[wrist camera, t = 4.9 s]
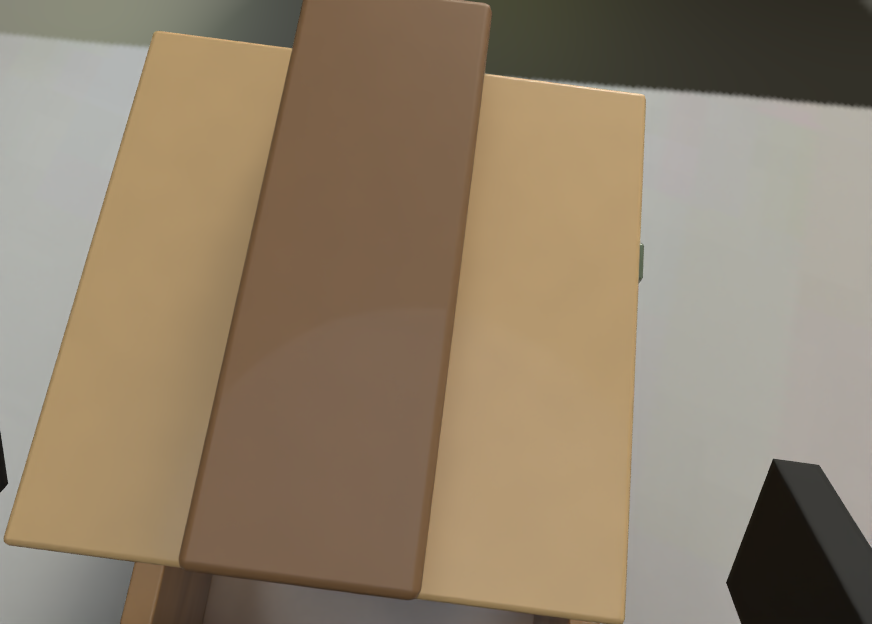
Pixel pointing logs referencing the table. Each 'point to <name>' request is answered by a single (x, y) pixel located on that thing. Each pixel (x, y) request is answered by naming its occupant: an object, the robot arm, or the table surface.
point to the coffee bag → (356, 323)
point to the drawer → (290, 600)
